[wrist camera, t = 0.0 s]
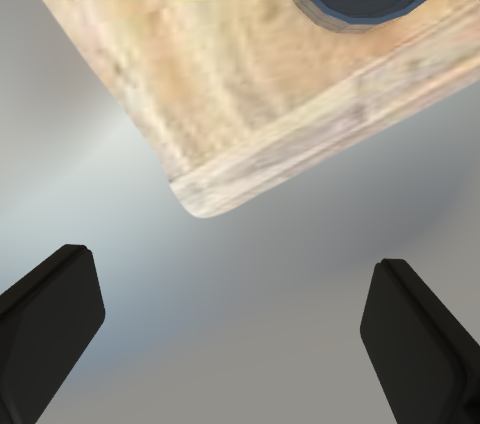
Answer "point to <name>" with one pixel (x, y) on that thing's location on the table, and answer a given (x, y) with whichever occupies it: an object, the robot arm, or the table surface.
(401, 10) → the bowl
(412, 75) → the table surface
